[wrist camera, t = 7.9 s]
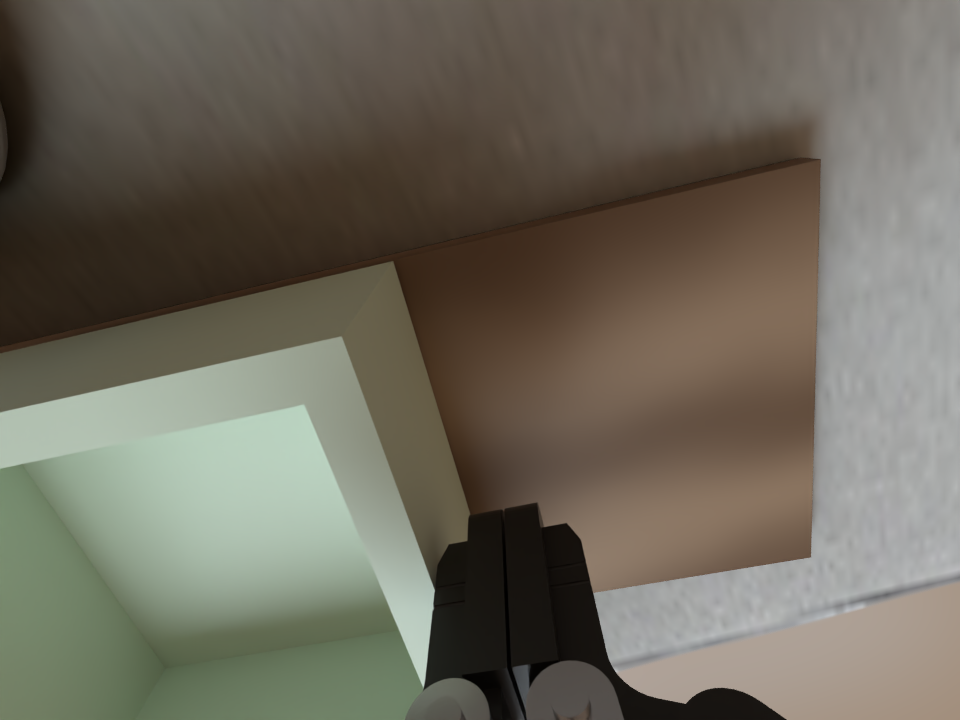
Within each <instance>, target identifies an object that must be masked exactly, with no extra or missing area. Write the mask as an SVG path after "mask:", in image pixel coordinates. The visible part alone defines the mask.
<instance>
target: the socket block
mask: <svg viewBox="0 0 960 720" xmlns="http://www.w3.org/2000/svg"><path fill="white" fill-rule="evenodd" d="M469 515H470V512H469V508H468V505H467V502H466V498H465V495H464V492H463V489H462V485H461V482H460V479H459V475H458V472H457V469H456V466H455V462H454V459H453V456H452V453H451V449H450V446H449V443H448V439H447V436H446V433H445V430H444V426H443V423H442V420H441V416H440V413H439V410H438V407H437V403H436V400H435V397H434V393H433V390H432V387H431V384H430V380H429V377H428V374H427V371H426V367H425V364H424V361H423V357H422V354H421V351H420V348H419V344H418V341H417V338H416V334H415V331H414V328H413V325H412V321H411V318H410V315H409V311H408V308H407V305H406V302H405V298H404V295H403V292H402V289H401V285H400V282H399V279H398V275H397V272H396V269H395V266H394V262H393V261H391V262H387V263H382V264H378V265H374V266H370V267H365V268H361V269H357V270H353V271H348V272H344V273H340V274H336V275H331V276H327V277H323V278H319V279H314V280H310V281H306V282H302V283H297V284H293V285H289V286H285V287H280V288H276V289H272V290H268V291H263V292H259V293H255V294H251V295H246V296H242V297H238V298H234V299H229V300H225V301H221V302H217V303H212V304H208V305H204V306H200V307H195V308H191V309H187V310H183V311H178V312H174V313H170V314H166V315H161V316H157V317H153V318H149V319H144V320H140V321H136V322H132V323H127V324H123V325H119V326H115V327H110V328H106V329H102V330H98V331H93V332H89V333H85V334H81V335H76V336H72V337H68V338H64V339H59V340H55V341H51V342H47V343H42V344H38V345H34V346H30V347H26V348H21V349H17V350H13V351H9V352H4V353H0V720H405V717H406V715H407V712H408V710H409V708H410V706H411V705H412V703H413V702H414V700H415V699H416V698H417V697H418V695H419V694H420V693H422V692H423V689H424V684H425V676H426V667H427V658H428V648H429V639H430V630H431V620H432V611H433V610H434V607H433V602H434V592H435V591H436V589H435V583H436V574H437V565H438V563H439V561H440V559H441V558H442V556H443V554H444V552H445V550H446V549H447V547H448V545H449V544H453V543H459V542H464V541H467V535H468V518H469Z"/></svg>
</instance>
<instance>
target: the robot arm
mask: <svg viewBox="0 0 960 720" xmlns="http://www.w3.org/2000/svg"><path fill="white" fill-rule="evenodd" d="M435 589H436V591H435V592H434V602H433V607H434V610H433V611H432V620H431V630H430V639H429V648H428V658H427V667H426V676H425V684H424V689H423V692H422V693H420V694H419V695H418V697H417V698H416V699H415V700H414V702H413V703H412V705H411V706H410V708H409V710H408V712H407V715H406V717H405V720H786V719H785V718H783V717H782V716H780V715H779V714H778V713H776V712H775V711H773V710H772V709H770V708H769V707H767V706H766V705H765V704H763V703H762V702H760V701H759V700H757V699H756V698H754V697H752V696H750V695H748V694H746V693H743V692H741V691H737V690H734V689H727V688H713V689H708V690H705V691H702V692H700V693H698V694H696V695H695V696H694V697H692V698H691V699H690V700H689V701H688V702H687V703H686V704H683V703H678V702H673V701H668V700H662V699H658V698H654V697H650V696H647V695H645V694H642V693H640V692H638V691H636V690H635V689H633V688H631V687H630V686H629V685H628V684H626V683H625V682H624V681H623V680H622V679H621V678H620V677H619V676H618V675H617V673H616V672H615V670H614V669H613V667H612V665H611V663H610V661H609V659H608V656H607V652H606V648H605V643H604V639H603V635H602V630H601V626H600V621H599V617H598V612H597V608H596V604H595V599H594V595H593V590H592V586H591V582H590V577H589V573H588V568H587V564H586V559H585V555H584V551H583V546H582V542H581V539H580V538H579V537H578V535H577V534H576V533H575V532H574V531H573V530H572V528H571V527H570V526H569V525H568V524H567V523H563V524H558V525H552V526H547V527H544V524H543V520H542V516H541V512H540V508H539V505H538V502H536V503H531V504H526V505H520V506H515V507H509V508H505V509H504V511H503V509H499V510H494V511H489V512H483V513H478V514H472V515H469V518H468V535H467V541H464V542H459V543H453V544H449V545H448V547H447V549H446V550H445V552H444V554H443V556H442V558H441V559H440V561H439V563H438V565H437V574H436V583H435Z"/></svg>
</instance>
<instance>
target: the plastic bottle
mask: <svg viewBox="0 0 960 720" xmlns="http://www.w3.org/2000/svg"><path fill="white" fill-rule="evenodd" d="M7 152H8V138H7V128H6V120H5V116H4V113H3V109H2V105H1V102H0V181H1V179H2V176H3V173H4V171H5V168H6V161H7Z"/></svg>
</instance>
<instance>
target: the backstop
mask: <svg viewBox="0 0 960 720" xmlns="http://www.w3.org/2000/svg"><path fill="white" fill-rule="evenodd" d="M820 163H821V159H811V158H797V159H793V160H788V161H784V162H780V163H776V164H772V165H767V166H763V167H759V168H755V169H750V170H746V171H742V172H738V173H734V174H729V175H725V176H721V177H717V178H712V179H708V180H704V181H700V182H696V183H691V184H687V185H683V186H679V187H674V188H670V189H666V190H662V191H658V192H653V193H649V194H645V195H641V196H636V197H632V198H628V199H624V200H620V201H615V202H611V203H607V204H603V205H598V206H594V207H590V208H586V209H582V210H577V211H573V212H569V213H565V214H560V215H556V216H552V217H548V218H544V219H539V220H535V221H531V222H527V223H522V224H518V225H514V226H510V227H506V228H501V229H497V230H493V231H489V232H484V233H480V234H476V235H472V236H468V237H463V238H459V239H455V240H451V241H446V242H442V243H438V244H434V245H429V246H425V247H421V248H417V249H413V250H408V251H404V252H400V253H396V254H391V255H387V256H383V257H379V258H375V259H370V260H366V261H362V262H358V263H353V264H349V265H345V266H341V267H337V268H332V269H328V270H324V271H320V272H315V273H311V274H307V275H303V276H299V277H294V278H290V279H286V280H282V281H277V282H273V283H269V284H265V285H261V286H256V287H252V288H248V289H244V290H239V291H235V292H231V293H227V294H223V295H218V296H214V297H210V298H206V299H201V300H197V301H193V302H189V303H185V304H180V305H176V306H172V307H168V308H163V309H159V310H155V311H151V312H147V313H142V314H138V315H134V316H130V317H125V318H121V319H117V320H113V321H109V322H104V323H100V324H96V325H92V326H87V327H83V328H79V329H75V330H71V331H66V332H62V333H58V334H54V335H49V336H45V337H41V338H37V339H33V340H28V341H24V342H20V343H16V344H11V345H7V346H3V347H0V353H4V352H9V351H13V350H17V349H21V348H26V347H30V346H34V345H38V344H42V343H47V342H51V341H55V340H59V339H64V338H68V337H72V336H76V335H81V334H85V333H89V332H93V331H98V330H102V329H106V328H110V327H115V326H119V325H123V324H127V323H132V322H136V321H140V320H144V319H149V318H153V317H157V316H161V315H166V314H170V313H174V312H178V311H183V310H187V309H191V308H195V307H200V306H204V305H208V304H212V303H217V302H221V301H225V300H229V299H234V298H238V297H242V296H246V295H251V294H255V293H259V292H263V291H268V290H272V289H276V288H280V287H285V286H289V285H293V284H297V283H302V282H306V281H310V280H314V279H319V278H323V277H327V276H331V275H336V274H340V273H344V272H348V271H353V270H357V269H361V268H365V267H370V266H374V265H378V264H382V263H387V262H391V261H393V262H394V266H395V269H396V272H397V275H398V279H399V282H400V285H401V289H402V292H403V295H404V298H405V302H406V305H407V308H408V311H409V315H410V318H411V321H412V325H413V328H414V331H415V334H416V338H417V341H418V344H419V348H420V351H421V354H422V357H423V361H424V364H425V367H426V371H427V374H428V377H429V380H430V384H431V387H432V390H433V393H434V397H435V400H436V403H437V407H438V410H439V413H440V416H441V420H442V423H443V426H444V430H445V433H446V436H447V439H448V443H449V446H450V449H451V453H452V456H453V459H454V462H455V466H456V469H457V472H458V475H459V479H460V482H461V485H462V489H463V492H464V495H465V498H466V502H467V505H468V508H469V512H470V515H472V514H478V513H483V512H489V511H494V510H499V509H503V511H504V509H505V508H509V507H515V506H520V505H526V504H531V503H536V502H538V505H539V508H540V512H541V516H542V520H543V524H544V527H547V526H552V525H558V524H563V523H567V524H568V525H569V526H570V527H571V528H572V530H573V531H574V532H575V533H576V534H577V535H578V537H579V538H580V539H581V542H582V546H583V551H584V555H585V559H586V564H587V568H588V573H589V577H590V582H591V586H592V590H593V593H595V592H601V591H607V590H613V589H619V588H625V587H631V586H638V585H644V584H650V583H656V582H662V581H668V580H674V579H680V578H687V577H693V576H699V575H705V574H711V573H717V572H723V571H729V570H736V569H742V568H748V567H754V566H760V565H766V564H772V563H778V562H785V561H791V560H797V559H803V558H809V557H811V532H812V491H813V450H814V409H815V368H816V327H817V286H818V245H819V204H820Z"/></svg>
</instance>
